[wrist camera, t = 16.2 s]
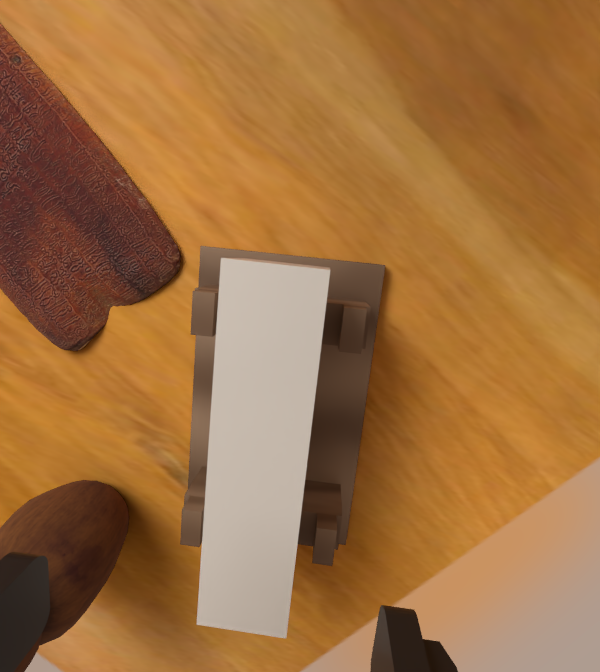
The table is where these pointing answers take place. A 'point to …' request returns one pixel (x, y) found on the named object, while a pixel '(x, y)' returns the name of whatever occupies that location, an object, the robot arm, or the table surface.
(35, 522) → the wooden figurine
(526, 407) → the table surface
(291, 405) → the white rectangular block
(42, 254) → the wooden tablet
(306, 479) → the rack
